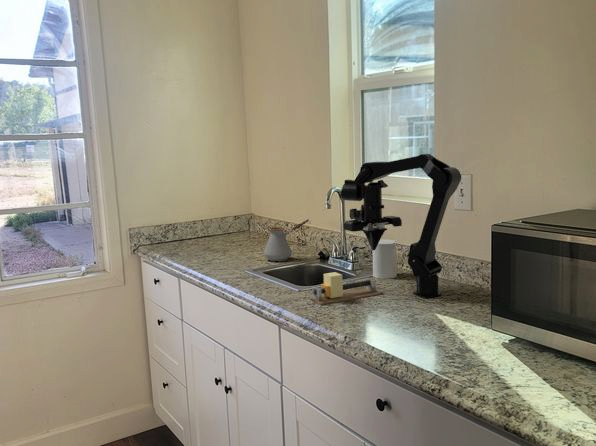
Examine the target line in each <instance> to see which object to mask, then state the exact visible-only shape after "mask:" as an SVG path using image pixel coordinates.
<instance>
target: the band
mask: <svg viewBox="0 0 596 446" xmlns="http://www.w3.org/2000/svg"><path fill="white" fill-rule="evenodd" d="M320 285H321V287H320V288H325V293H322V295H324V296H326V297H329V296H330V286H329V285H327V284H324V283H321V284H320Z"/></svg>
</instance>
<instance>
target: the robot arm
mask: <svg viewBox="0 0 596 446" xmlns="http://www.w3.org/2000/svg"><path fill="white" fill-rule="evenodd" d="M359 169H360V170H359V172H358V174H357V176H356V177H355V179H345V180H344V183H343V184H342V187H341V190H340V196H341V198H342V200H343V201H351V202H353V201H354V202H361V201H363V204H361V206H360V209H359V210H358V209H357V208H350V209H349V214H348V215H349V219H350V220H345V221H344V223H343V230H345V231H348V232H363V233H364V235H365V236H366V238H367V241H368V244H369V247H370V249H371V251H373V250H376V247H377V245H378V243H379V241H380V240H382V237H383V235H384V233H385V232H386V231H388V228H386V227H385V226H387V225H392V226H393V227H394V228H396V227H402V226H403V220H402V218H401V217H400V216H395V215H386V216H383V209H385V205H384V204H383V199H382V195H383V194H382V189H385V188H388V187H389V185H388V184H387V183H386V182H385V181H384V180H383V178H386V177H388V176H390V175H391V174H396V173H399V172H405V171H406V172H407V171H412V170H416V169H421V170H422V171H423V172H424V173H425V175H426V176H427V177H428V178H430V180H432V183H431V184H432V185H431V188H432V190H431V191H432V199H431V203H430V205H429V208H428V211H427V215H426V216H425V217H426V219H425V222H424V225H423V226H422V230H421V231H422V232H421V234H420V237H419V240H418V241H417V242H413V243H411V244H410V245H409V251H408V254H407V255H406V258H407V263H408V266H409V267H410V269H411V272H412V273H413V277H414V278H416V282H415V283H416V285H415V286H416V290H415V291H412V294H414V295H416V296H419V297H421V298H424V299H429V298H433V297H439V296H443V293H442V292H441V291H440V292H439V275H438V274H440V273H441V272H442V269H443V266H442V264H441V263H440V262H439V261H438V260H437V258H436V253H437V251H436V242H437V238H438V234H439V231H440V228H441V226H442V223H443V219H444V216H445V213H446V210H447V207H448V203H449V200H450V198H452V197H453V194H454V193H455V192H456V191H457V189H458V187H459V185H460V183H461V182H462V173H461V171H460V170H459V169H458V168H456V167H452V166H450V165H449V164H448V163H445V162H444V161H441V160H440V159H437V158H436V157H435V156H434V155H432V154H431V153H421V154H418V155H415V156H411V157H406V158H401V159H400V158H399V159H396V160H391V161H370V162H364V163H363V164H361V167H360V168H359ZM377 180H378V181H377ZM374 181H377V182H374Z"/></svg>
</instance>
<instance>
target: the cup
mask: <svg viewBox="0 0 596 446" xmlns="http://www.w3.org/2000/svg"><path fill="white" fill-rule="evenodd" d="M397 263H398V262H397V241H396V240H394V239H380V241H379V243H378V245H377V247H376V250H372V277H373V278H376V279H382V280H383V279H385V280H386V279H388V280H389V279H394V278H396V277H397V274H398V272H397V268H398V267H397Z"/></svg>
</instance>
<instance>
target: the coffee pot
mask: <svg viewBox="0 0 596 446" xmlns="http://www.w3.org/2000/svg"><path fill="white" fill-rule="evenodd" d="M306 223H308V224H311V223H312V222H311V221H310V219H306V220H303V222H300V223H298V224H297V225H295V226H293V228H291V229H289V230H287V231H286V232H284V231H285V229H286V228H285V227H283V226H282V227H281V226H279V227H278V226H277V227H276V226H275V227H271V228H270V227H269V228H268V230H269V232H270V234H269V238H268V240H267V243H266V245H265V249H264V251H263V255H264V257H265V258H266V259H268V261H269V260H270V261H269V262H275V261H278V262H285V261H287V260H288V259H289V258H290V257H291V256H292V254H293V251H292V249H291V246H290V244H289V242H288V241H287V238H286V236H287V235H288V234H289V233H291V232H293V231H296V230H298V229H299V228H301V227H302V226H303V225H305V224H306Z"/></svg>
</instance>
